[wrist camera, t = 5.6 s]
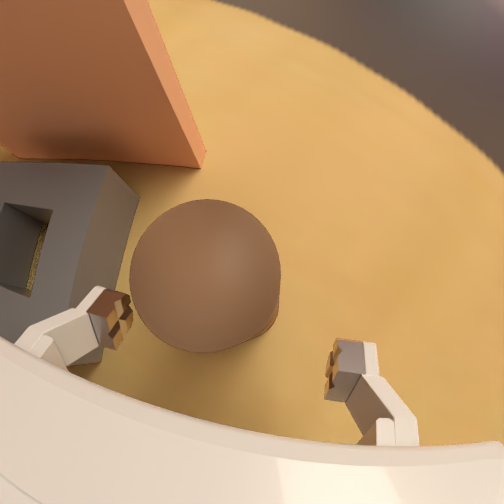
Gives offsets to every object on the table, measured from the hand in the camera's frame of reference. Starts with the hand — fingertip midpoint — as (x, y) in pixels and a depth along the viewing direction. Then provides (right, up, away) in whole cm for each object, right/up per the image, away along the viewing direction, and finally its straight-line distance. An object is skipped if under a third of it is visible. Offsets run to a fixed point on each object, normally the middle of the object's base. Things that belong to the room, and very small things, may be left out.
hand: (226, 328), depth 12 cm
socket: (-14, +2, +10) cm, 17 cm away
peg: (+1, 0, +8) cm, 8 cm away
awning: (-13, +6, +10) cm, 18 cm away
